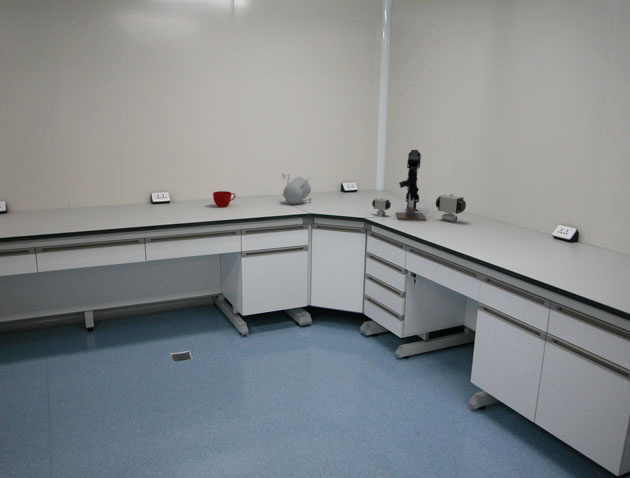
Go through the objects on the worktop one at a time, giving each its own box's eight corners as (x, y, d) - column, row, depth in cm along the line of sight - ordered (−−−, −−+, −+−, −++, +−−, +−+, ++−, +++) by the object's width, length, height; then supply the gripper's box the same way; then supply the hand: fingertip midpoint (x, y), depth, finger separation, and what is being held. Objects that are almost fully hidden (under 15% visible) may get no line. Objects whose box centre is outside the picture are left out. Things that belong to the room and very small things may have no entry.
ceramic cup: (239, 206, 393) (239, 192, 391) (217, 208, 384) (217, 194, 382) (231, 203, 404) (231, 190, 401) (210, 205, 395) (209, 192, 392)
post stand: (395, 214, 372) (396, 204, 370) (422, 215, 371) (422, 205, 369) (398, 220, 355) (398, 209, 353) (425, 220, 354) (426, 210, 352)
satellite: (272, 182, 397) (301, 187, 385) (287, 169, 410) (315, 174, 398) (278, 207, 410) (306, 214, 398) (292, 194, 423) (319, 200, 411)
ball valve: (465, 222, 351) (467, 195, 347) (459, 224, 345) (461, 196, 341) (440, 218, 363) (442, 191, 358) (434, 220, 357) (436, 193, 352)
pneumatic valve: (387, 217, 364) (388, 199, 361) (371, 215, 369) (372, 197, 366) (390, 215, 368) (391, 198, 365) (374, 213, 374) (375, 196, 371)
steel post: (408, 209, 363) (409, 193, 361) (412, 209, 363) (413, 193, 360) (408, 209, 360) (409, 194, 358) (413, 210, 360) (414, 194, 357)
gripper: (399, 174, 365) (397, 197, 369) (401, 178, 347) (400, 202, 351) (415, 174, 365) (414, 197, 369) (419, 178, 347) (417, 202, 351)
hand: (411, 200), depth 360 cm, fingers closed on steel post, 3 cm apart
